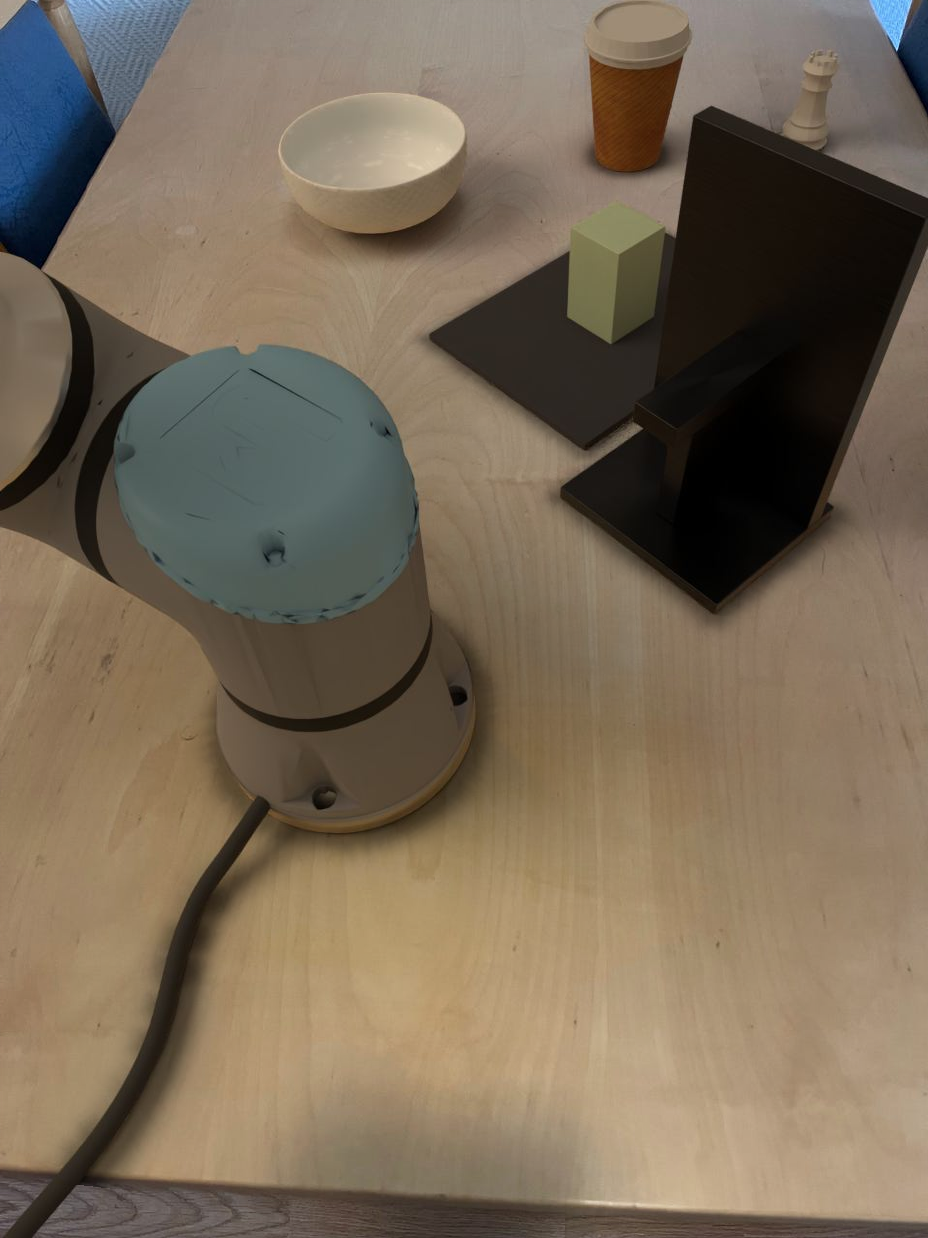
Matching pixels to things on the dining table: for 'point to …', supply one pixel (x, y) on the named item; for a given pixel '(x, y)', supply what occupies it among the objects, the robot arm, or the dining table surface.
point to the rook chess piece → (812, 102)
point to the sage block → (614, 271)
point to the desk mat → (559, 353)
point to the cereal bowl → (374, 161)
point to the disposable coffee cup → (634, 78)
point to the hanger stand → (757, 356)
